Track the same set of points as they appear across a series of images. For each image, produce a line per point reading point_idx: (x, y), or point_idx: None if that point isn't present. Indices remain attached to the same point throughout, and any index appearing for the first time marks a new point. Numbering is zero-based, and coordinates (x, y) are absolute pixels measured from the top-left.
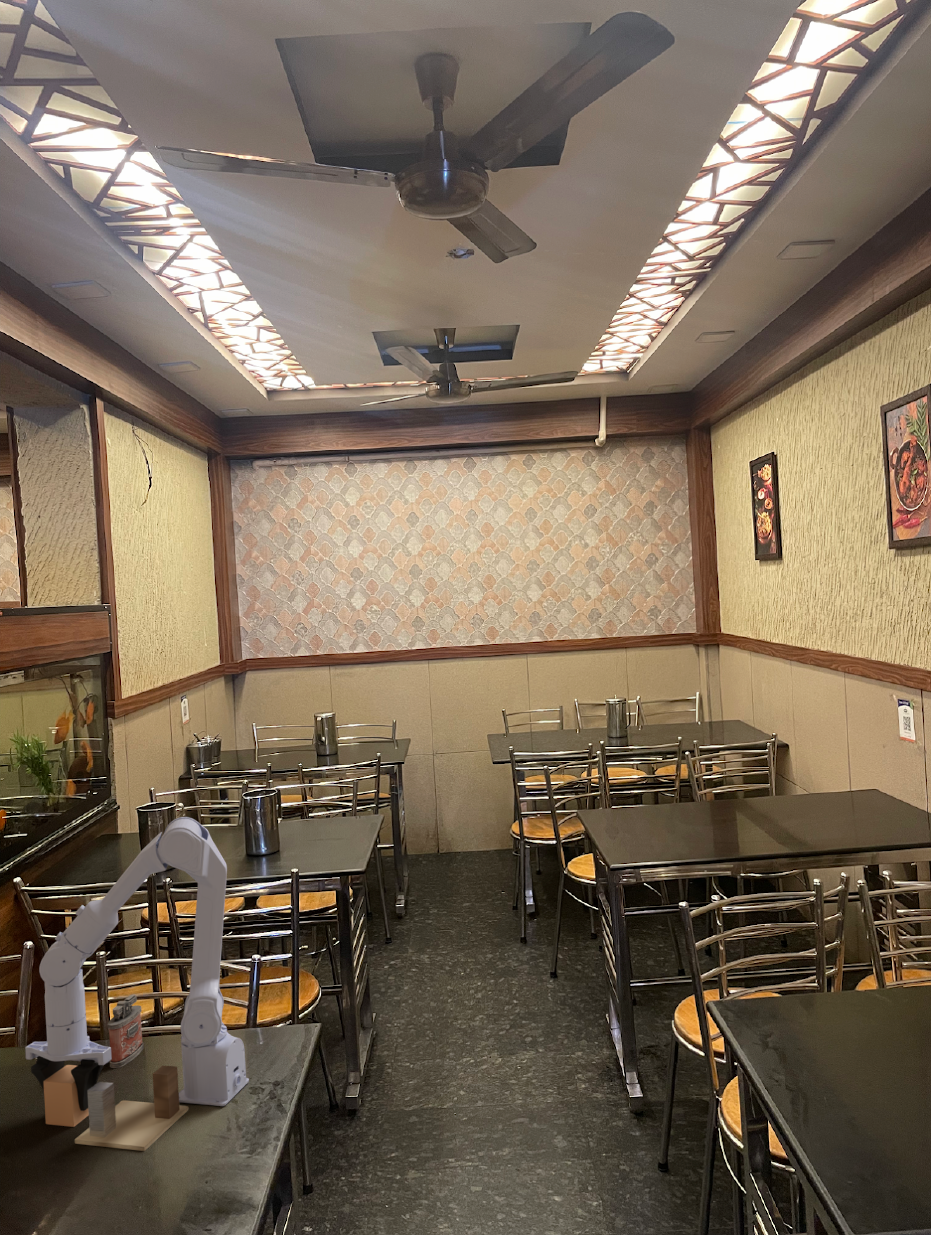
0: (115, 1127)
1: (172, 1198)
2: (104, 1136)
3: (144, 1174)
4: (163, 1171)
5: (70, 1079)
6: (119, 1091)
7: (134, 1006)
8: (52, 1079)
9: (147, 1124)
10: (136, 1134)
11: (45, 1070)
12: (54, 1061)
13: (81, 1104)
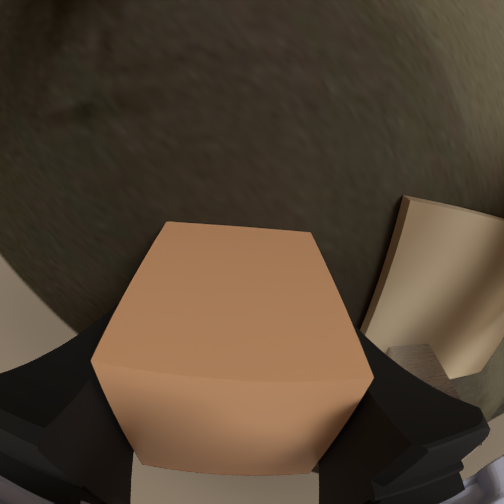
0: (428, 346)
1: (491, 407)
2: None
3: (471, 397)
4: (491, 385)
5: (278, 462)
6: (336, 83)
7: None
8: (174, 464)
9: (490, 317)
10: (470, 351)
11: (125, 492)
12: (97, 482)
13: None
